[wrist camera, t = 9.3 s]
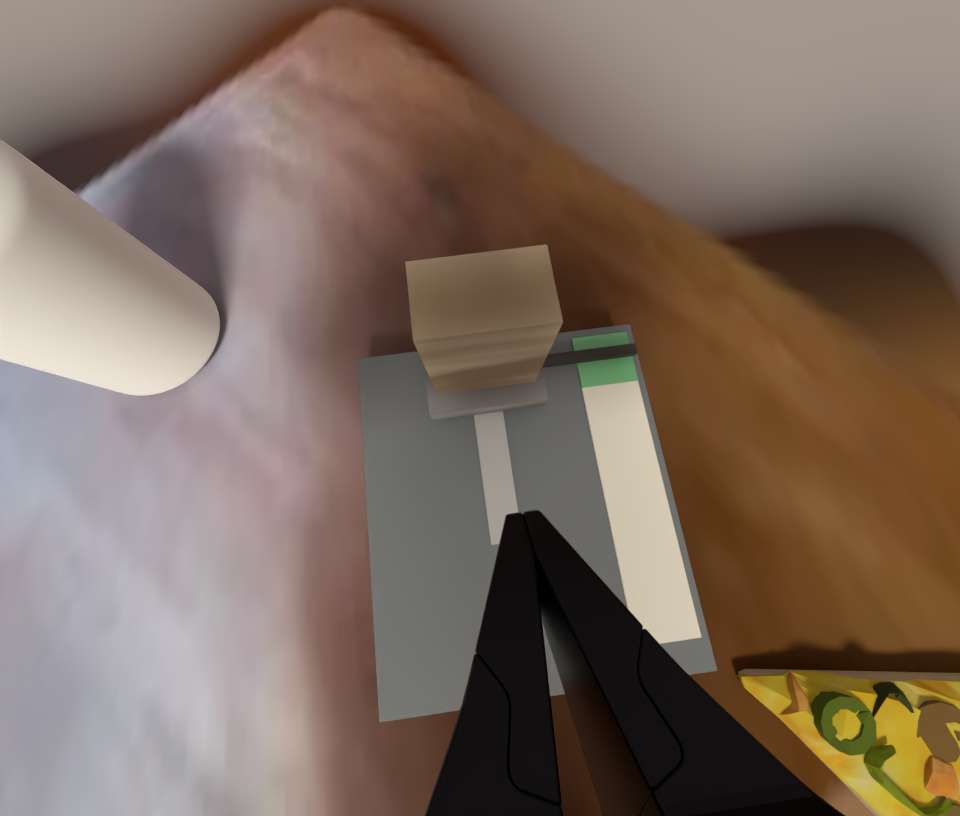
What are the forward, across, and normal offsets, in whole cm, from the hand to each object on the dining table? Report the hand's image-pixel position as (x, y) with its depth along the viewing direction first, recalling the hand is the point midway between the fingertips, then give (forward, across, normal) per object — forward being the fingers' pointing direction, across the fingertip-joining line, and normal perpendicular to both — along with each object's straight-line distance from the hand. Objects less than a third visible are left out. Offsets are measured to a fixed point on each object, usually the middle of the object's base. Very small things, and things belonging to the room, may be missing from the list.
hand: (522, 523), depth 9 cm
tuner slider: (+12, -3, +2) cm, 13 cm away
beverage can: (+18, +20, -1) cm, 27 cm away
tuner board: (+9, -1, +8) cm, 12 cm away
